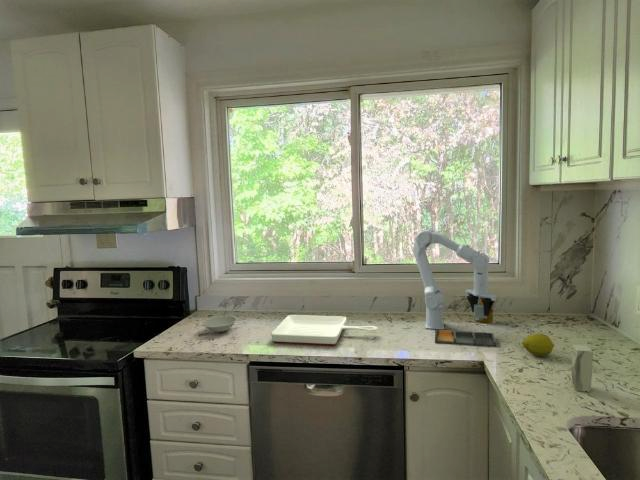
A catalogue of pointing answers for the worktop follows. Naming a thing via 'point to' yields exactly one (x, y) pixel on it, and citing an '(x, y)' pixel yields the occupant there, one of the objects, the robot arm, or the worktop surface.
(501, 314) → the worktop surface
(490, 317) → the condiment
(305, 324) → the pan
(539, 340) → the lemon
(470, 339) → the tray
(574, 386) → the box
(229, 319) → the dish
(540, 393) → the worktop surface
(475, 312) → the pale blue block
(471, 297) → the robot arm
